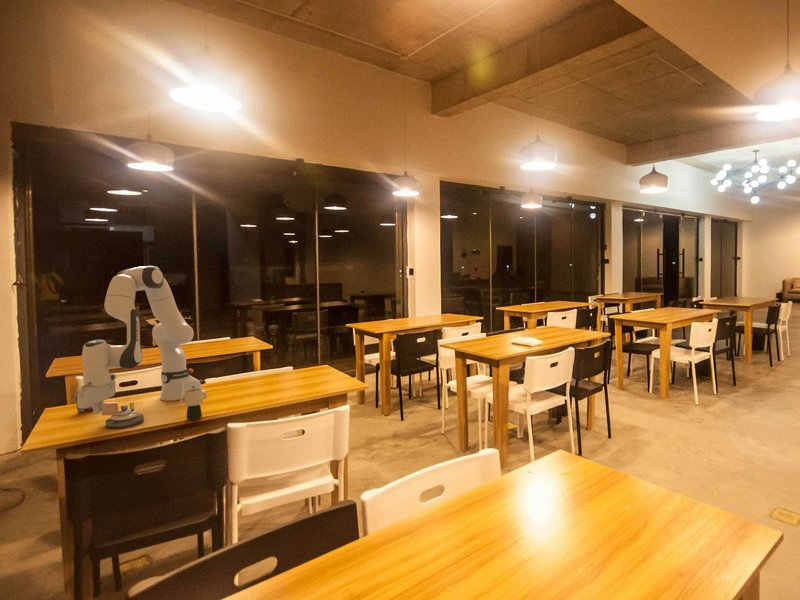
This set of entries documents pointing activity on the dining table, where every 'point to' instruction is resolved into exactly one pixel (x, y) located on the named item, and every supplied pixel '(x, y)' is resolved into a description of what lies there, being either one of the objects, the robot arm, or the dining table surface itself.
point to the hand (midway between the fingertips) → (97, 412)
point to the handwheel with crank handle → (125, 424)
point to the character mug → (193, 402)
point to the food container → (82, 409)
